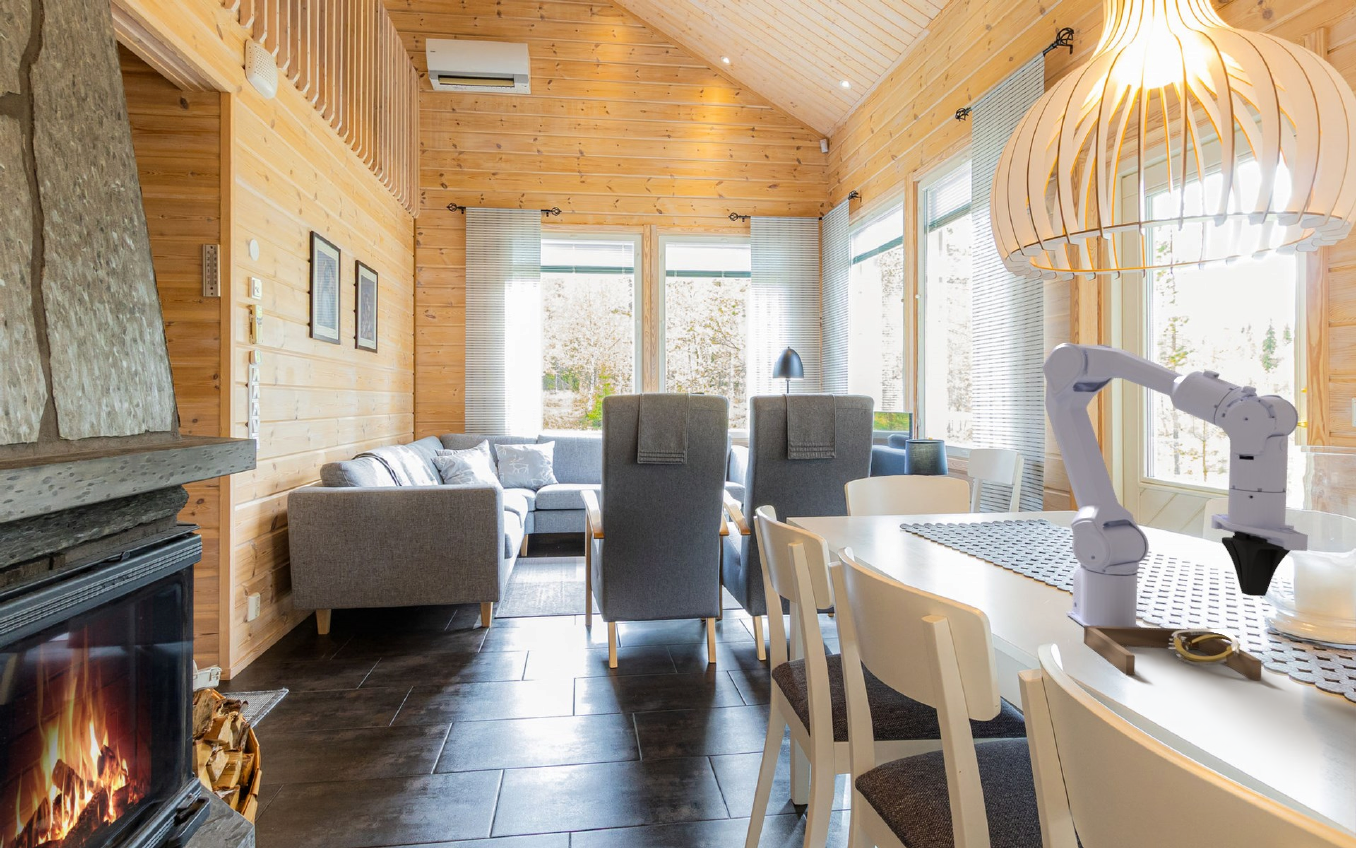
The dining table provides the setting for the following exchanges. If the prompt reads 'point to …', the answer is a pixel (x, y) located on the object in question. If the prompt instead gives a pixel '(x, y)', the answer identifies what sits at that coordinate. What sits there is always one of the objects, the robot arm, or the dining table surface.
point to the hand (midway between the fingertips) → (1253, 594)
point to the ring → (1209, 634)
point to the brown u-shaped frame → (1113, 638)
